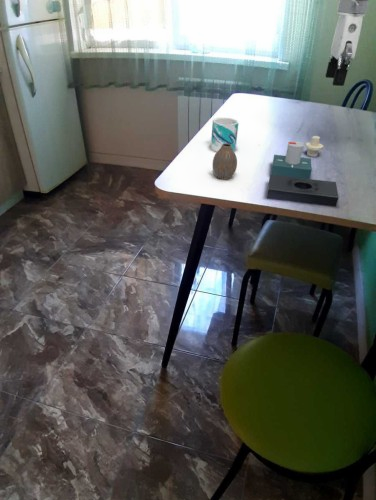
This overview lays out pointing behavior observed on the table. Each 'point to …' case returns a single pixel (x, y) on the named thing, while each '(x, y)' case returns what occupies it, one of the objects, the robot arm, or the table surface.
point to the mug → (224, 133)
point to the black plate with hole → (302, 190)
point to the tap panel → (291, 167)
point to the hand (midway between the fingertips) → (334, 81)
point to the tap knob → (294, 152)
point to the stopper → (314, 146)
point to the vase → (225, 162)
